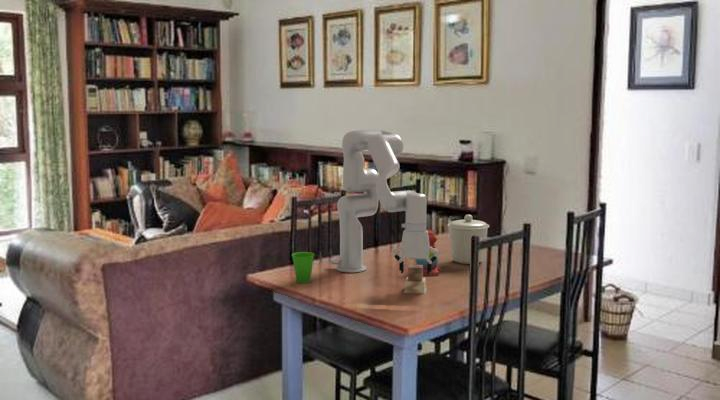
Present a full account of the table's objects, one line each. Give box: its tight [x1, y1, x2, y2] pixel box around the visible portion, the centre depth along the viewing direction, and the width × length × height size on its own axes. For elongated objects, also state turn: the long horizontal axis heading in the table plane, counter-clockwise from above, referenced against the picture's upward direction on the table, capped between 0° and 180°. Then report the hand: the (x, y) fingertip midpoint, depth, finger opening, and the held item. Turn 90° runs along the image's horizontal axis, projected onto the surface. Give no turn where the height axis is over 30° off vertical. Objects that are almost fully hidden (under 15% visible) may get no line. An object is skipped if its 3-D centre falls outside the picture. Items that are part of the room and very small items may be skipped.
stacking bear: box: [415, 228, 441, 277], centre depth 291 cm, size 11×10×18 cm
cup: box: [291, 251, 316, 284], centre depth 277 cm, size 9×9×11 cm
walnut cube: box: [407, 264, 424, 282], centre depth 259 cm, size 5×5×5 cm
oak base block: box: [404, 276, 427, 294], centre depth 260 cm, size 7×7×4 cm
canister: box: [447, 214, 490, 265], centre depth 309 cm, size 18×18×21 cm
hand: (415, 273), depth 259 cm, fingers open, 9 cm apart
